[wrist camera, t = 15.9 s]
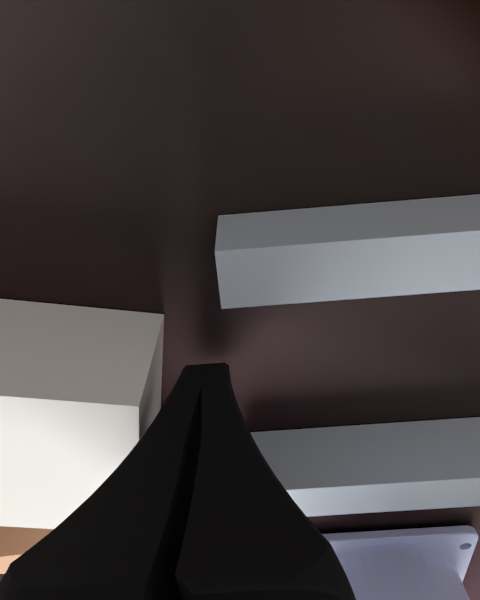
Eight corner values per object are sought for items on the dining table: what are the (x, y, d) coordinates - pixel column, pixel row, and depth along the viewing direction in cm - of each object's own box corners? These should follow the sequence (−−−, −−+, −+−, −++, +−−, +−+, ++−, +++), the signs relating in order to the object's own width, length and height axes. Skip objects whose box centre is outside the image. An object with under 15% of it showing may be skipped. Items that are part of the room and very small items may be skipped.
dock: (526, 441, 16) (573, 500, 14) (244, 459, 16) (246, 520, 14) (626, 182, 11) (723, 211, 9) (218, 215, 11) (214, 251, 9)
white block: (160, 427, 15) (138, 533, 12) (-7, 414, 15) (-80, 521, 11) (164, 314, 13) (138, 406, 9) (-36, 295, 12) (-140, 384, 9)
